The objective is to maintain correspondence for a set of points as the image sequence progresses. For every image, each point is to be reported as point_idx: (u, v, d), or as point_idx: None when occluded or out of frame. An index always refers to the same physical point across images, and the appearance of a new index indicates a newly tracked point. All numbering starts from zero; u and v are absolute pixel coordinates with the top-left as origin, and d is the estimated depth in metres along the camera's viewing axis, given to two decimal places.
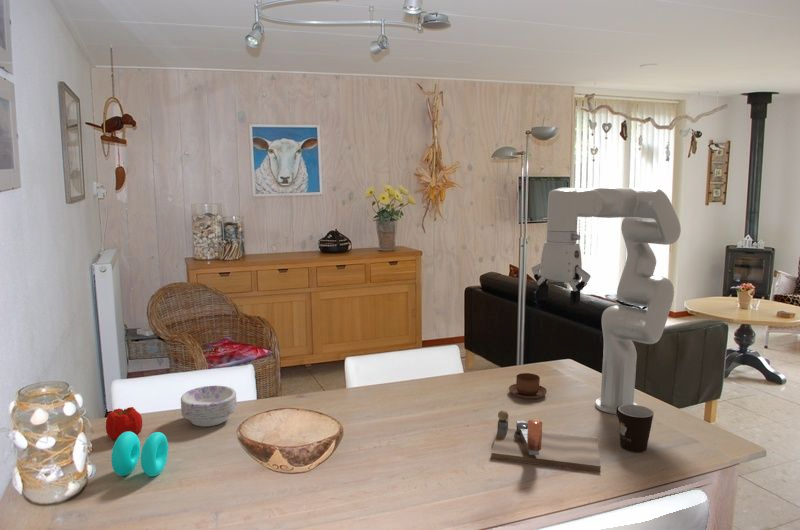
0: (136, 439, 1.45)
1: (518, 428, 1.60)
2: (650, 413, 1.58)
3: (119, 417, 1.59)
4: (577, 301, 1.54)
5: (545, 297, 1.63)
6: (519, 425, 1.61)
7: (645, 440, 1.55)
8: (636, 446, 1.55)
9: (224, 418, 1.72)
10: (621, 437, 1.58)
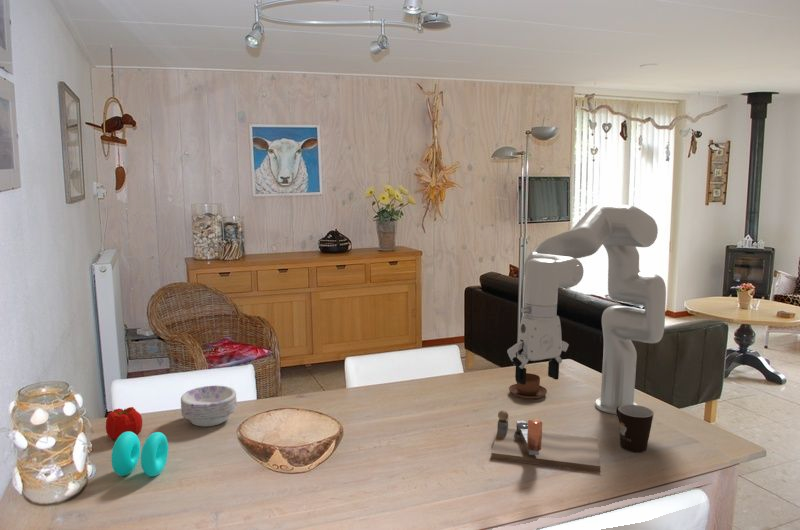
0: (136, 439, 1.45)
1: (518, 428, 1.60)
2: (650, 413, 1.58)
3: (119, 417, 1.59)
4: (516, 377, 1.44)
5: (552, 376, 1.48)
6: (519, 425, 1.61)
7: (645, 440, 1.55)
8: (636, 446, 1.55)
9: (224, 418, 1.72)
10: (621, 437, 1.58)
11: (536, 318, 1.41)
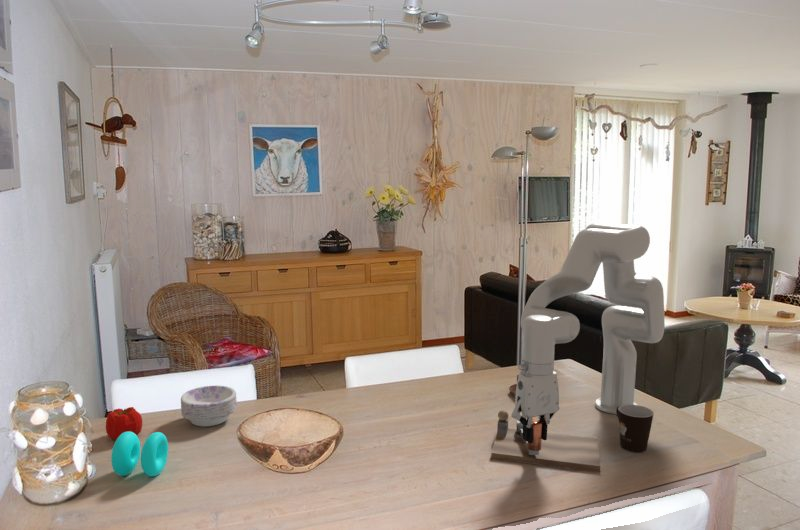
0: (136, 439, 1.45)
1: (518, 428, 1.60)
2: (650, 413, 1.58)
3: (119, 417, 1.59)
4: (523, 436, 1.47)
5: None
6: (519, 425, 1.61)
7: (645, 440, 1.55)
8: (636, 446, 1.55)
9: (224, 418, 1.72)
10: (621, 437, 1.58)
11: (533, 376, 1.42)
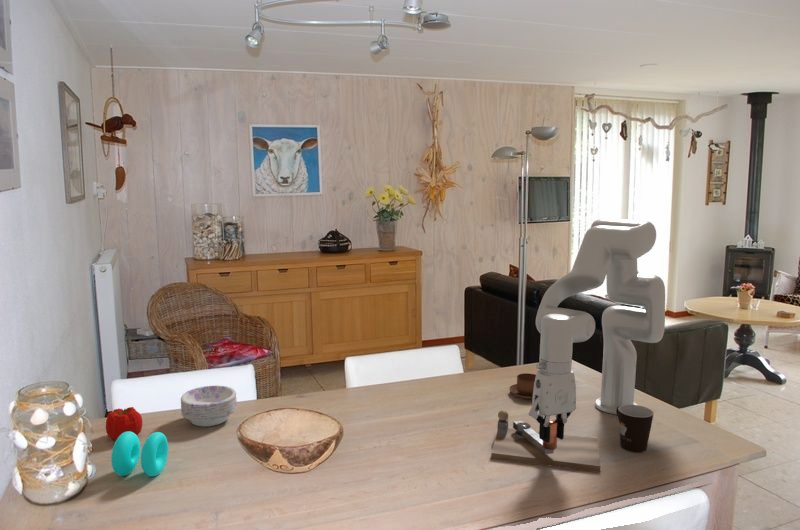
0: (136, 439, 1.45)
1: (520, 429, 1.60)
2: (650, 413, 1.58)
3: (119, 417, 1.59)
4: (540, 435, 1.47)
5: (558, 435, 1.48)
6: (520, 426, 1.61)
7: (645, 440, 1.55)
8: (636, 446, 1.55)
9: (224, 418, 1.72)
10: (621, 437, 1.58)
11: (551, 374, 1.43)
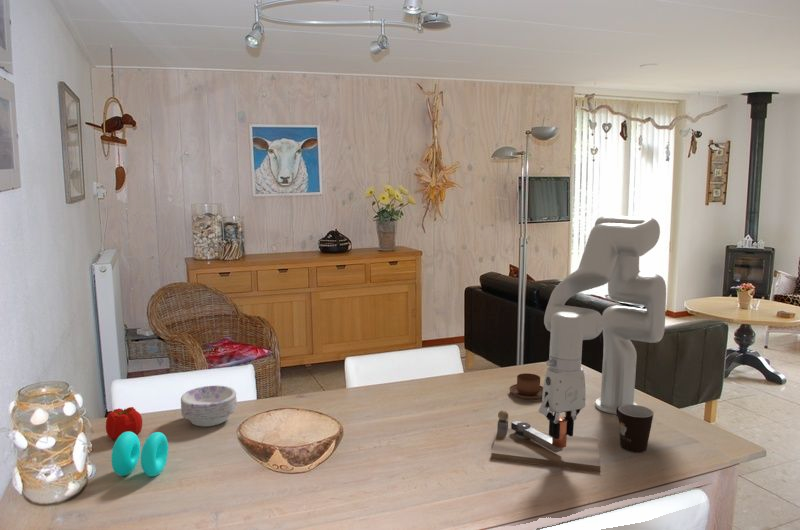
0: (136, 439, 1.45)
1: (521, 429, 1.60)
2: (650, 413, 1.58)
3: (119, 417, 1.59)
4: (550, 432, 1.48)
5: (567, 432, 1.50)
6: (520, 426, 1.60)
7: (645, 440, 1.55)
8: (636, 446, 1.55)
9: (224, 418, 1.72)
10: (621, 437, 1.58)
11: (561, 371, 1.44)
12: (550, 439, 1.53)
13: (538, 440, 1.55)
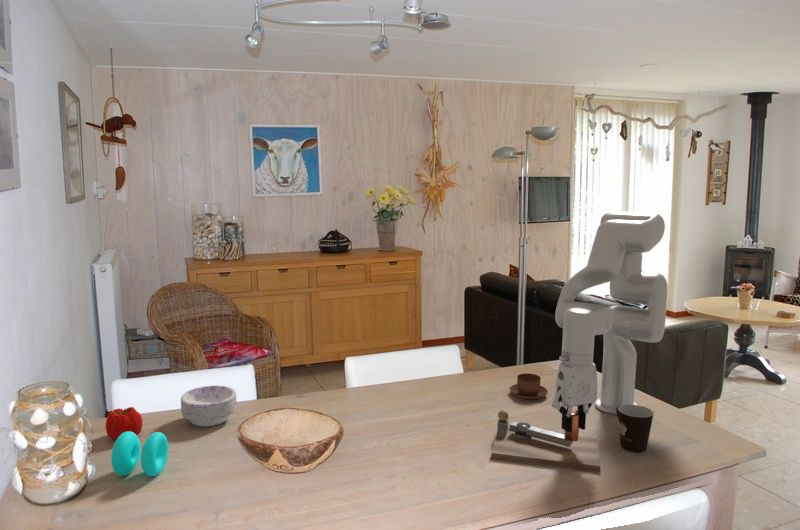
0: (136, 439, 1.45)
1: (524, 429, 1.59)
2: (650, 413, 1.58)
3: (119, 417, 1.59)
4: (562, 425, 1.51)
5: (579, 426, 1.53)
6: (522, 426, 1.60)
7: (645, 440, 1.55)
8: (636, 446, 1.55)
9: (224, 418, 1.72)
10: (621, 437, 1.58)
11: (574, 366, 1.47)
12: (558, 434, 1.56)
13: (546, 437, 1.56)
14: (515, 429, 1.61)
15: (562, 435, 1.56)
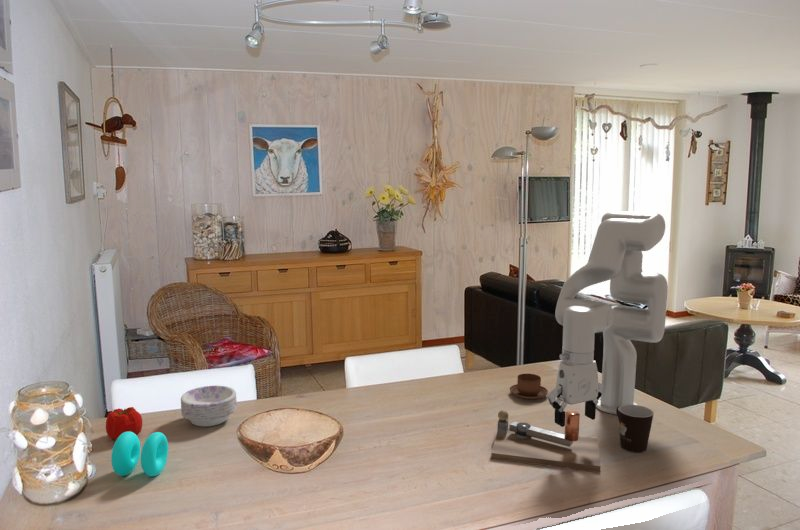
0: (136, 439, 1.45)
1: (524, 429, 1.59)
2: (650, 413, 1.58)
3: (119, 417, 1.59)
4: (555, 420, 1.51)
5: (589, 416, 1.55)
6: (522, 426, 1.60)
7: (645, 440, 1.55)
8: (636, 446, 1.55)
9: (224, 418, 1.72)
10: (621, 437, 1.58)
11: (574, 364, 1.48)
12: (558, 434, 1.56)
13: (546, 437, 1.56)
14: (515, 429, 1.61)
15: (562, 435, 1.56)
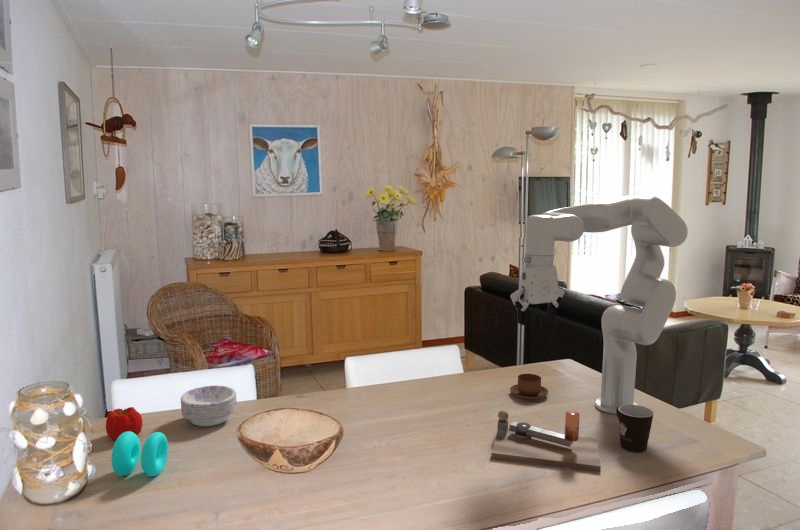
0: (136, 439, 1.45)
1: (524, 429, 1.59)
2: (650, 413, 1.58)
3: (119, 417, 1.59)
4: (518, 319, 1.64)
5: (550, 319, 1.68)
6: (522, 426, 1.60)
7: (645, 440, 1.55)
8: (636, 446, 1.55)
9: (224, 418, 1.72)
10: (621, 437, 1.58)
11: (535, 266, 1.61)
12: (558, 434, 1.56)
13: (546, 437, 1.56)
14: (515, 429, 1.61)
15: (562, 435, 1.56)
